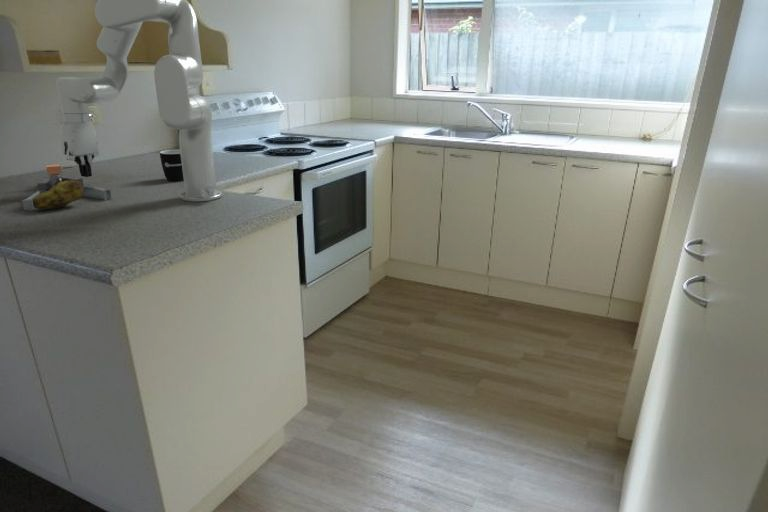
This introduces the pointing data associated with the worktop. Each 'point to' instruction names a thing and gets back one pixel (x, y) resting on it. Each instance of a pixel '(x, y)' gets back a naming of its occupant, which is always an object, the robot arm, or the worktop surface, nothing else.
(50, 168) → the tab
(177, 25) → the robot arm
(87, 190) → the tongs jaw
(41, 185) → the tongs fixed
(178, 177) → the mug
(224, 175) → the worktop surface
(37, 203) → the potato
